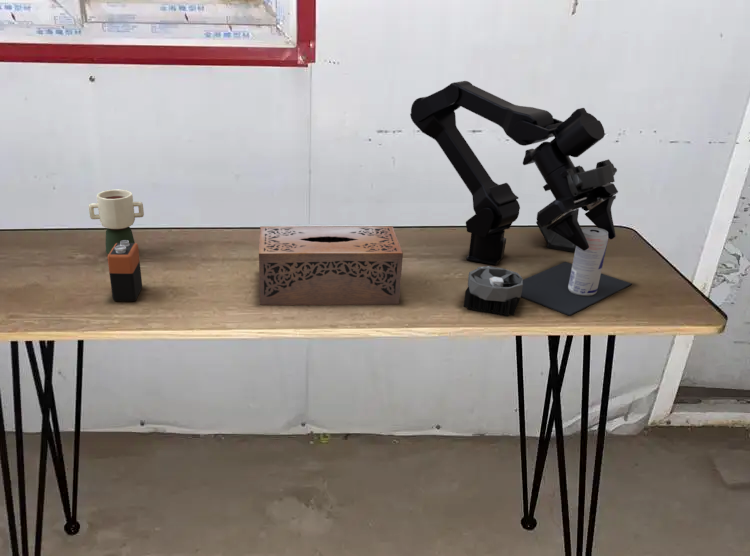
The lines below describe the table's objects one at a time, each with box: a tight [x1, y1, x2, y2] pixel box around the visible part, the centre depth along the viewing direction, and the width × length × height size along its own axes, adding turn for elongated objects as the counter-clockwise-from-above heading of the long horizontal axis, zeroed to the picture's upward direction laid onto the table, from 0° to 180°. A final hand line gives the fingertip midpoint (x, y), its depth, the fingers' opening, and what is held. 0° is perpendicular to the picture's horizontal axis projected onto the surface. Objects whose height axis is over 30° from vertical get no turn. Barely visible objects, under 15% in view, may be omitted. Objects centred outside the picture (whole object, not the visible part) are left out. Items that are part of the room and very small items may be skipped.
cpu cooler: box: [463, 265, 524, 317], centre depth 143 cm, size 10×6×10 cm
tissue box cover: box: [258, 225, 404, 306], centre depth 147 cm, size 26×14×10 cm, turn 92°
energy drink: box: [568, 226, 609, 296], centre depth 146 cm, size 5×5×12 cm
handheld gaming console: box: [535, 220, 576, 253], centre depth 172 cm, size 12×7×10 cm
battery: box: [107, 240, 143, 302], centre depth 143 cm, size 4×7×10 cm, turn 179°
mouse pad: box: [520, 261, 633, 317], centre depth 151 cm, size 15×22×1 cm
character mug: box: [88, 188, 145, 255], centre depth 160 cm, size 11×7×13 cm, turn 100°
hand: (600, 243), depth 143 cm, fingers open, 9 cm apart
